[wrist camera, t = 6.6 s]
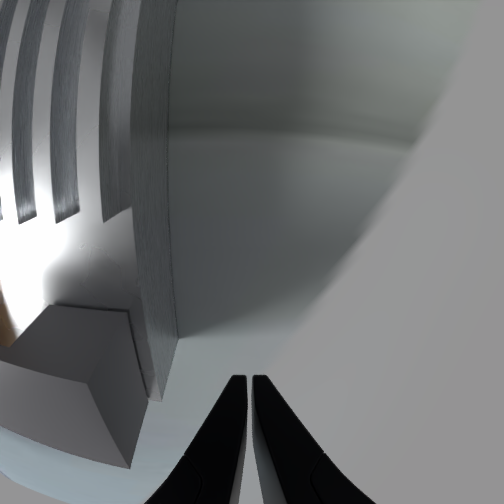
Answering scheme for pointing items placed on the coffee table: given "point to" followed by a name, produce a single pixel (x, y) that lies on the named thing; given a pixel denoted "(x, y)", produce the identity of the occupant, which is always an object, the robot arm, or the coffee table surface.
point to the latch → (75, 384)
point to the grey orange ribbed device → (87, 168)
